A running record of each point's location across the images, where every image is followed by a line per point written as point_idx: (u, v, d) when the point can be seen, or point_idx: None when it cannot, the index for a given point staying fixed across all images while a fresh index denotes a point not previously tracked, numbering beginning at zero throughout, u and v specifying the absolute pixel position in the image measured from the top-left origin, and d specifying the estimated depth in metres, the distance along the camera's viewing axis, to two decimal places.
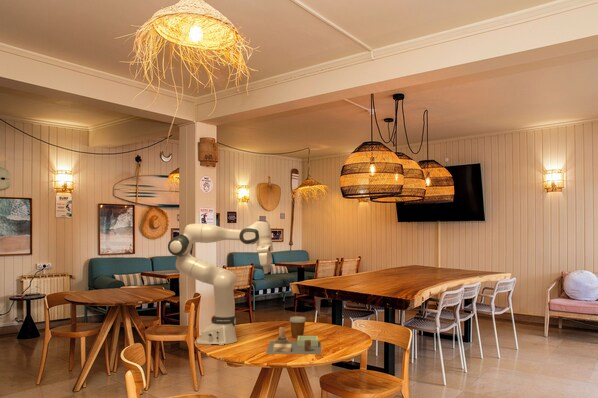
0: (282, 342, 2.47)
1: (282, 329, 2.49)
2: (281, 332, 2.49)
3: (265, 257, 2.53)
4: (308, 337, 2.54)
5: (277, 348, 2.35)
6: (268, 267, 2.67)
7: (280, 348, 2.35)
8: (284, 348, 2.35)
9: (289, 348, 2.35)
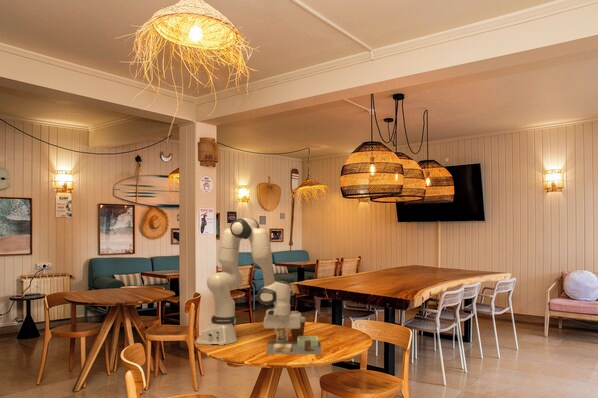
0: (282, 342, 2.47)
1: (282, 329, 2.49)
2: (281, 332, 2.49)
3: (264, 319, 2.50)
4: (308, 337, 2.54)
5: (277, 348, 2.35)
6: (287, 331, 2.50)
7: (280, 348, 2.35)
8: (284, 348, 2.35)
9: (289, 348, 2.35)
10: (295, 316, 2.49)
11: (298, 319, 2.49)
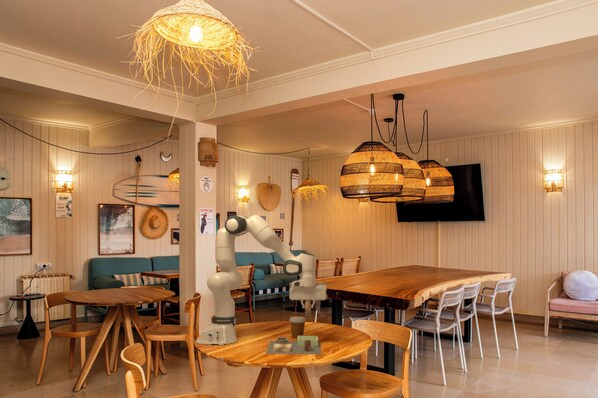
0: (282, 342, 2.47)
1: (308, 300, 2.50)
2: (307, 303, 2.50)
3: (290, 291, 2.50)
4: (308, 337, 2.54)
5: (277, 348, 2.35)
6: None
7: (280, 348, 2.35)
8: (284, 348, 2.35)
9: (289, 348, 2.35)
10: (321, 287, 2.50)
11: (324, 290, 2.50)
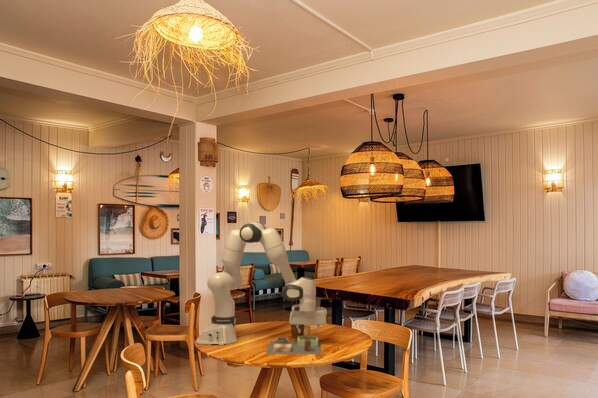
0: (282, 342, 2.47)
1: (308, 328, 2.49)
2: (307, 331, 2.49)
3: None
4: None
5: (277, 348, 2.35)
6: None
7: (280, 348, 2.35)
8: (284, 348, 2.35)
9: (289, 348, 2.35)
10: (321, 312, 2.49)
11: (324, 315, 2.49)
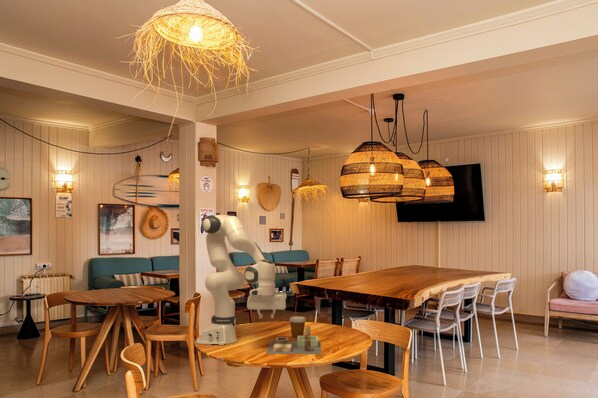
0: (282, 342, 2.47)
1: (308, 328, 2.49)
2: (307, 331, 2.49)
3: None
4: None
5: (277, 348, 2.35)
6: (273, 313, 2.39)
7: (280, 348, 2.35)
8: (284, 348, 2.35)
9: (289, 348, 2.35)
10: (280, 296, 2.38)
11: (283, 299, 2.38)
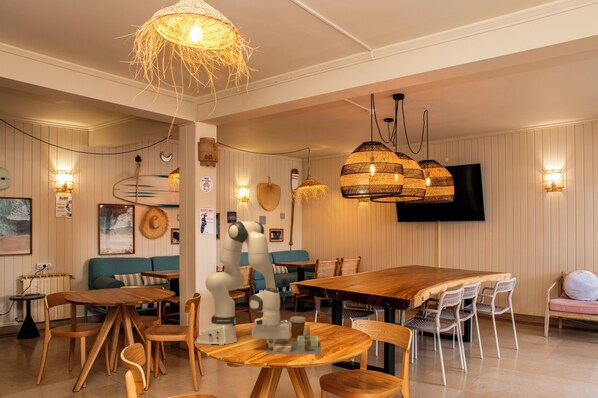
0: (282, 342, 2.47)
1: (307, 328, 2.49)
2: (306, 331, 2.49)
3: (252, 329, 2.38)
4: None
5: (277, 348, 2.35)
6: (273, 342, 2.38)
7: (280, 348, 2.35)
8: (284, 348, 2.35)
9: (289, 348, 2.35)
10: (285, 326, 2.37)
11: (288, 329, 2.37)
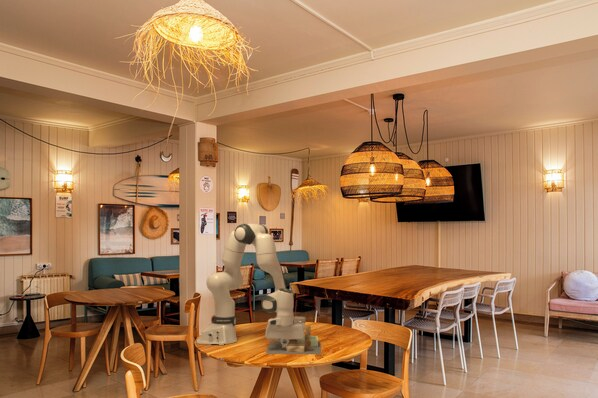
0: None
1: (308, 328, 2.49)
2: (307, 331, 2.49)
3: None
4: None
5: (290, 348, 2.35)
6: None
7: (293, 348, 2.35)
8: (297, 348, 2.35)
9: (302, 348, 2.35)
10: (298, 326, 2.37)
11: (302, 329, 2.37)
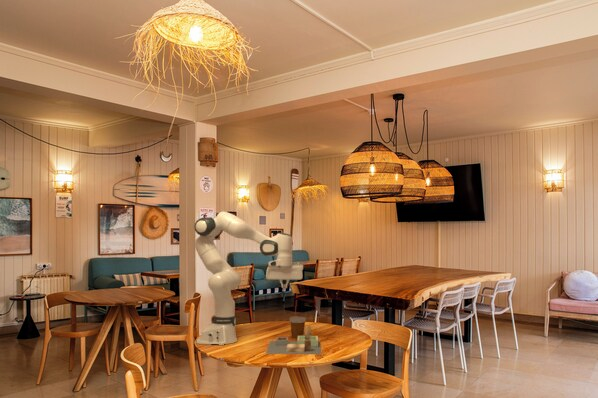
0: (282, 342, 2.47)
1: (308, 328, 2.49)
2: (307, 331, 2.49)
3: (266, 271, 2.52)
4: None
5: (290, 348, 2.35)
6: (286, 283, 2.53)
7: (293, 348, 2.35)
8: (297, 348, 2.35)
9: (302, 348, 2.35)
10: (297, 267, 2.52)
11: (300, 270, 2.52)
